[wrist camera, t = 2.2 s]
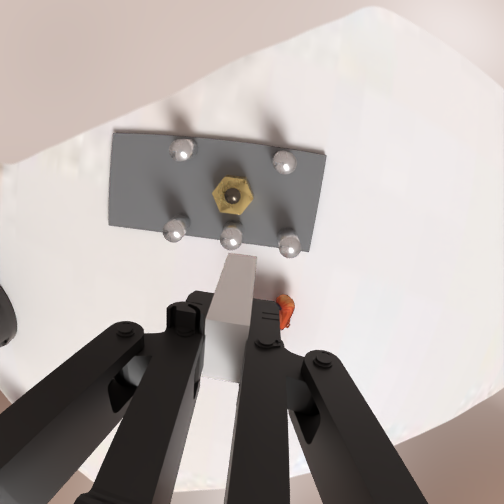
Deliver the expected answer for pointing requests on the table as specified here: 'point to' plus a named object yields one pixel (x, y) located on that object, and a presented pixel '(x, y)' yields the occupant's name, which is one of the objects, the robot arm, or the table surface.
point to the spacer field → (233, 228)
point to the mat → (211, 187)
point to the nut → (233, 194)
